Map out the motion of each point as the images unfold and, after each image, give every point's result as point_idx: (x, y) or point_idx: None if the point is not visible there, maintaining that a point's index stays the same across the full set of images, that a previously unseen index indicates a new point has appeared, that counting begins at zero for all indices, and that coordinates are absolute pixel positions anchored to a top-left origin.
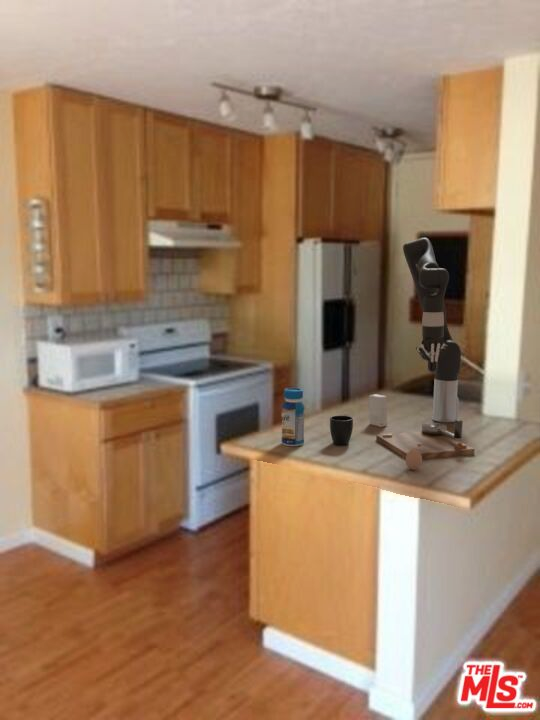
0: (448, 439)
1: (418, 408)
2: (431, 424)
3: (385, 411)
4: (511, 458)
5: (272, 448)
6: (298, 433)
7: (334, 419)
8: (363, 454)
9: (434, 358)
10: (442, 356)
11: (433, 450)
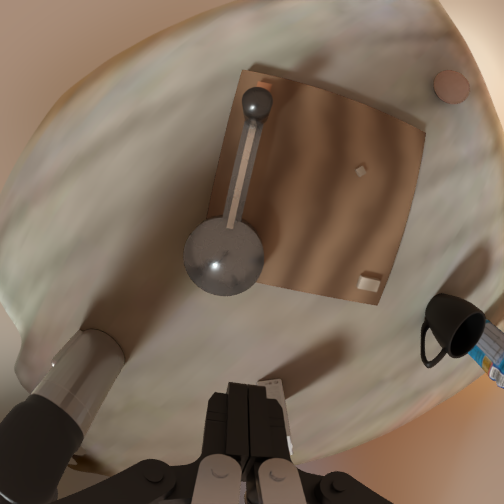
0: None
1: (112, 420)
2: (222, 273)
3: None
4: (185, 24)
5: (500, 322)
6: (495, 329)
7: (458, 350)
8: (456, 224)
9: (238, 491)
10: (123, 482)
11: (357, 117)
